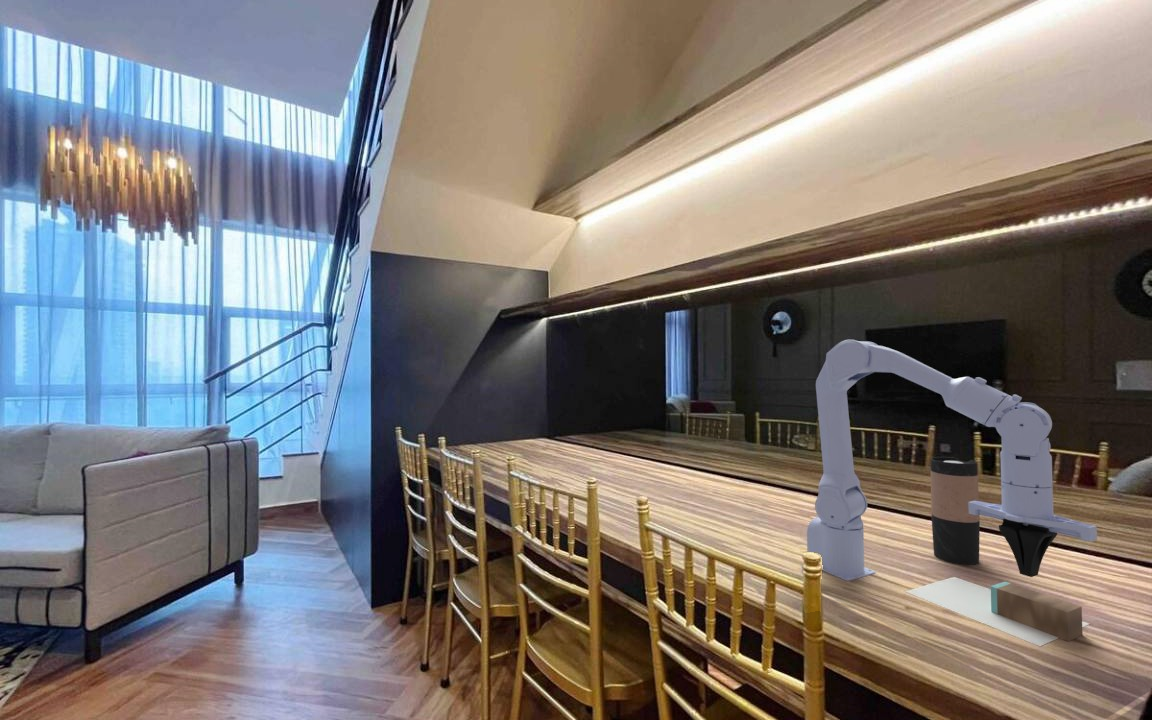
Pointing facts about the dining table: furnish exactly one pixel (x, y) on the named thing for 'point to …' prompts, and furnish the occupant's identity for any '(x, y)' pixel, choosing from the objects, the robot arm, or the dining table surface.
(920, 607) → the dining table surface
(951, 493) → the travel mug
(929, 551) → the dining table surface
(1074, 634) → the walnut block
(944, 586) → the grey mat
